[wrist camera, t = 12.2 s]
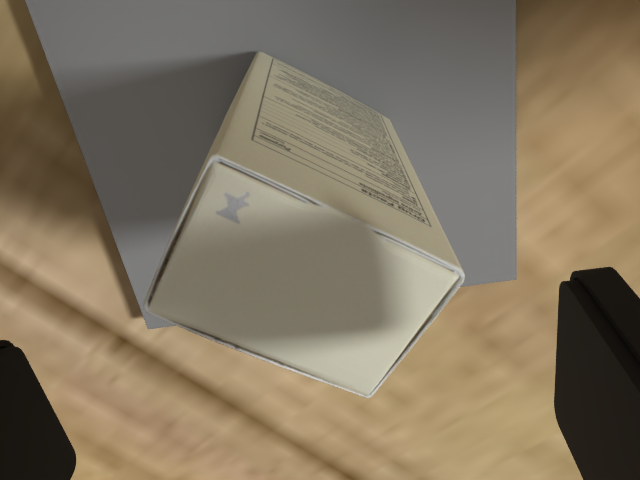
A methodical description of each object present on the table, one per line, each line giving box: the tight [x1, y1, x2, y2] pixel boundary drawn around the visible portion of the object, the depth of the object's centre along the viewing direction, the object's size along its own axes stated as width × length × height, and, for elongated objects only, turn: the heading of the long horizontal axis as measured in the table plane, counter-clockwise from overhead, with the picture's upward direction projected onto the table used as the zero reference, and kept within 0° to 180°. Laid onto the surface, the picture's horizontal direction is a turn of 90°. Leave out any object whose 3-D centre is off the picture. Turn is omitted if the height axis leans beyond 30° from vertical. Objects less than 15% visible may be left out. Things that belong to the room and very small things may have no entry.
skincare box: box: [143, 51, 465, 398], centre depth 18 cm, size 6×4×12 cm
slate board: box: [25, 0, 516, 329], centre depth 24 cm, size 18×16×1 cm
